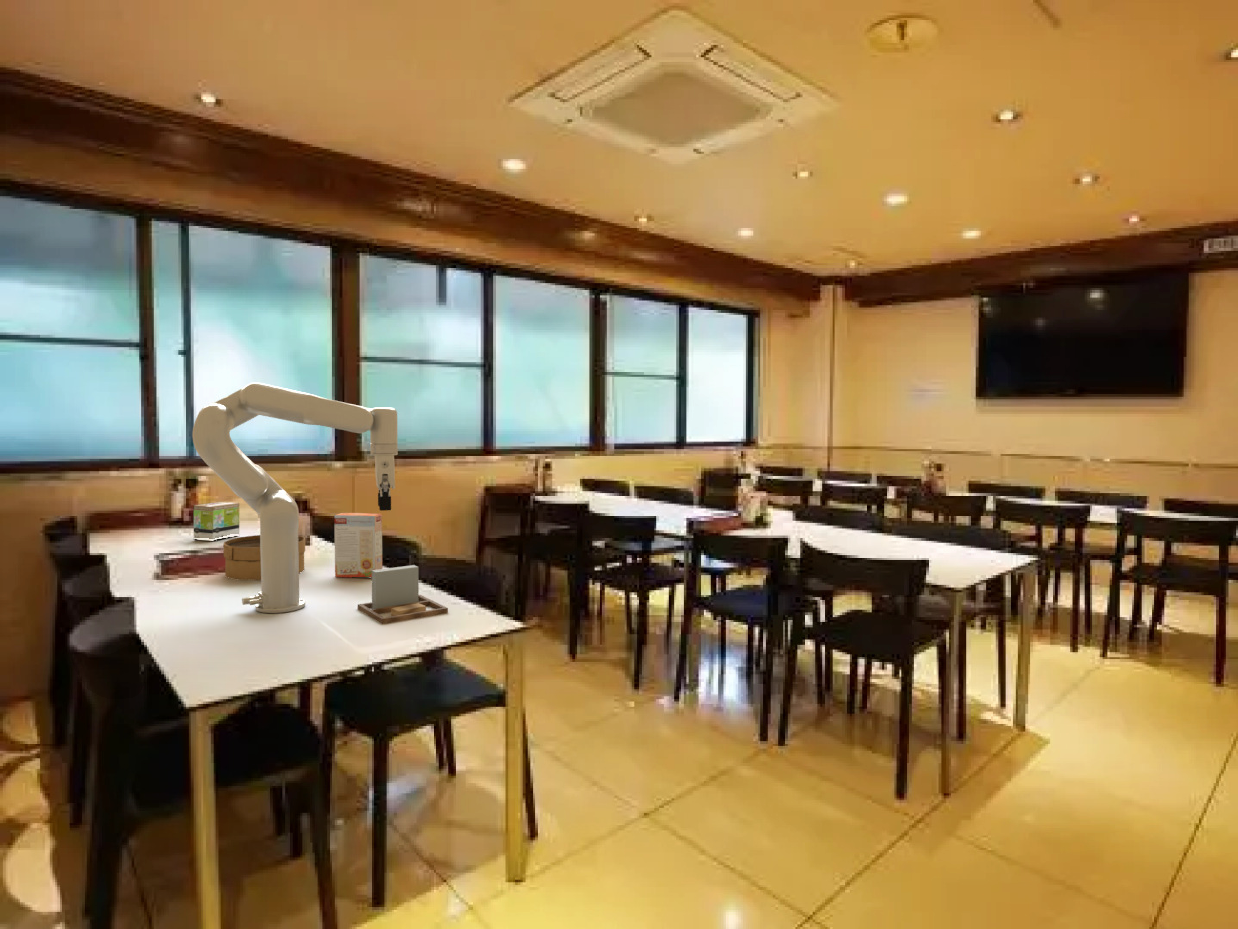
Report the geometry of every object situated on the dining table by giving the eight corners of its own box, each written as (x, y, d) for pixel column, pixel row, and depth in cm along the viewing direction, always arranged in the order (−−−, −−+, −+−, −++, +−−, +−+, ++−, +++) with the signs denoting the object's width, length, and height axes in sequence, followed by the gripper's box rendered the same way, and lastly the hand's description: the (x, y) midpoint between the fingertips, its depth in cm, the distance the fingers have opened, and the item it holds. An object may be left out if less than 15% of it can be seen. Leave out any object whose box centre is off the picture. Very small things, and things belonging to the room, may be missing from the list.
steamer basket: (225, 583, 230) (225, 548, 230) (222, 569, 252) (221, 536, 251) (310, 576, 243) (310, 542, 242) (300, 563, 264) (299, 532, 264)
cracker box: (383, 575, 246) (382, 513, 244) (375, 579, 240) (374, 515, 238) (343, 573, 247) (342, 511, 245) (334, 577, 241) (333, 514, 239)
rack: (382, 628, 186) (382, 619, 185) (357, 613, 199) (357, 604, 199) (447, 617, 197) (447, 608, 197) (420, 603, 210) (420, 594, 210)
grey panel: (376, 616, 197) (375, 572, 196) (372, 614, 199) (371, 570, 198) (418, 609, 204) (418, 567, 203) (414, 607, 207) (413, 565, 206)
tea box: (213, 542, 300) (212, 506, 299) (193, 540, 302) (192, 505, 301) (240, 536, 315) (239, 502, 314) (220, 535, 317) (220, 501, 316)
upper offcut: (398, 618, 191) (398, 611, 191) (390, 615, 194) (390, 608, 194) (425, 612, 197) (425, 606, 196) (418, 609, 199) (418, 603, 199)
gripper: (399, 451, 207) (399, 511, 208) (395, 448, 223) (396, 504, 224) (371, 451, 204) (371, 512, 206) (369, 448, 221) (370, 504, 222)
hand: (384, 508), depth 215 cm, fingers open, 9 cm apart
